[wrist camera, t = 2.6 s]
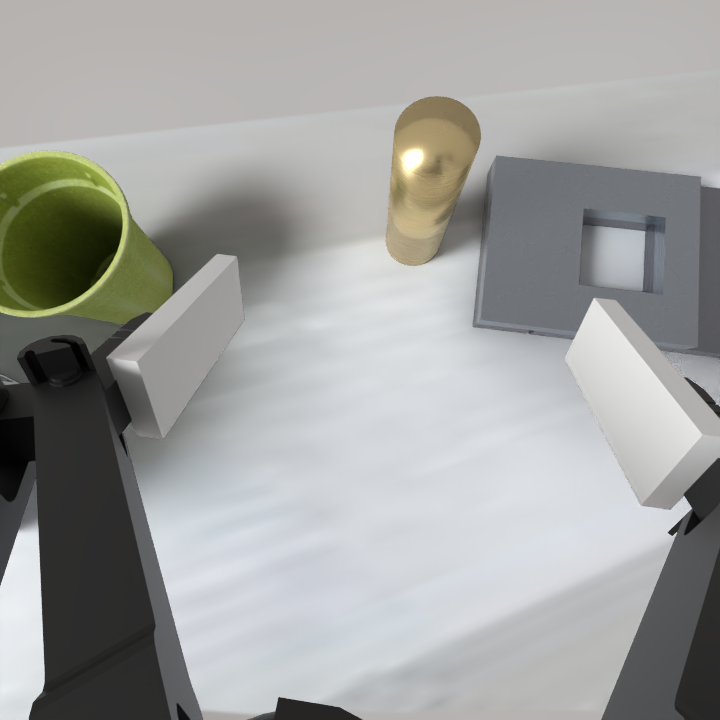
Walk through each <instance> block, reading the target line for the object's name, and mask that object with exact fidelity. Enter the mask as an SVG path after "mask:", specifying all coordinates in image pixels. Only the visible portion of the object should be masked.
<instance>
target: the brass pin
mask: <svg viewBox="0 0 720 720" xmlns="http://www.w3.org/2000/svg"><path fill="white" fill-rule="evenodd" d="M480 140H481V132H480V127H479V123H478V121H477V119H476V117H475V115H474V114H473V113H472V112H471V110H470V109H469V108H468V107H466V106H465V105H464V104H462V103H460V102H459V101H457V100H454V99H451V98H447V97H438V96H435V97H428V98H424V99H420V100H418V101H416V102H414V103H413V104H411V105H410V106H408V107H407V108H406V109H405V110H404V111H403V112H402V114H401V115H400V117H399V119H398V120H397V123H396V126H395V132H394V144H393V157H392V169H391V181H390V194H389V206H388V218H387V231H386V246H387V249H388V251H389V253H390V254H391V256H392V257H393V258H394V259H395V260H396V261H398V262H400V263H402V264H405V265H409V266H417V265H421V264H424V263H426V262H428V261H429V260H431V259H432V258H433V257H434V256H435V254H436V253H437V251H438V249H439V246H440V244H441V241H442V238H443V236H444V233H445V231H446V228H447V226H448V223H449V221H450V218H451V216H452V213H453V211H454V208H455V206H456V203H457V201H458V198H459V196H460V193H461V191H462V188H463V186H464V183H465V181H466V178H467V176H468V173H469V171H470V168H471V166H472V163H473V161H474V158H475V156H476V153H477V151H478V148H479V145H480Z"/></svg>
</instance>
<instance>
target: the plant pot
mask: <svg viewBox="0 0 720 720" xmlns="http://www.w3.org/2000/svg"><path fill="white" fill-rule="evenodd" d="M111 262H112V263H111ZM110 263H111V265H110V267H109V268H108V269H107V271H106V272H105V269H106V268H107V266H108V265H109V264H110ZM172 293H173V271H172V268H171V266H170V264H169V262H168V261H167V259H166V258H165V257H164V256H163V255H162V253H161V252H160V251H159V250H158V249H157V247H156V246H155V245H154V244H153V243H152V242H151V241H150V239H149V238H148V237H147V236H146V235H145V233H144V232H143V231H142V230H141V228H140V227H139V226H138V225H137V224H136V222H135V221H134V220H133V219H132V216H131V214H130V210H129V206H128V203H127V200H126V198H125V196H124V194H123V192H122V190H121V188H120V187H119V185H118V184H117V183H116V181H115V180H114V179H113V178H112V177H111V176H110V174H109V173H107V172H106V171H105V170H104V169H103V168H102V167H100V166H99V165H98V164H96V163H94V162H93V161H91V160H89V159H87V158H85V157H82V156H79V155H76V154H72V153H69V152H63V151H37V152H31V153H27V154H23V155H20V156H17V157H15V158H12V159H10V160H8V161H6V162H4V163H2V164H0V312H1V313H4V314H8V315H12V316H17V317H25V318H40V317H49V316H54V315H65V314H67V315H73V316H79V317H85V318H90V319H96V320H102V321H107V322H113V323H118V324H126V323H127V322H128V321H130V320H131V319H133V318H135V317H137V316H139V315H141V314H143V313H145V312H150V313H154V312H155V311H157V310H158V309H159V308H160V307H161V306H162V305H163V304H164V303H165V302H166V301H167V300H168V299H169V298H170V297H171V296H172Z"/></svg>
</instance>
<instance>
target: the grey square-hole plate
mask: <svg viewBox="0 0 720 720" xmlns="http://www.w3.org/2000/svg"><path fill="white" fill-rule="evenodd" d="M583 224H588V225H597V226H606V227H615V228H624V229H633V230H642V231H646V232H645V259H644V286H643V292H646V293H653V279H654V249H655V224H648V223H639V222H630V221H621V220H612V219H603V218H594V217H584V216H583ZM529 334H534V335H542V336H550V337H558V338H566V339H574V338H575V336H573V335H565V334H556V333H548V332H540V331H532V330H530V332H529ZM656 347H657V348H658V349H659V350H662V351H670V352H678V353H686V354H694V355H702V356H710V357H718V358H720V189H719V188H709V187H700V246H699V305H698V347H695V348H691V349H686V350H685V349H677V348H669V347H661V346H656Z"/></svg>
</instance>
